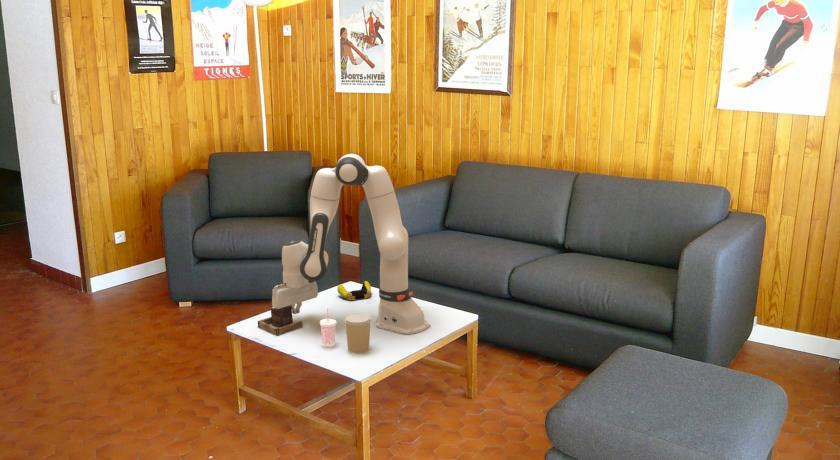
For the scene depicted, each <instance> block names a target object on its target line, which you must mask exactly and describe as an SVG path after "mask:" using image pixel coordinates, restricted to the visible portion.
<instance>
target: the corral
mask: <svg viewBox="0 0 840 460" xmlns="http://www.w3.org/2000/svg"><path fill="white" fill-rule="evenodd" d="M257 328H259V329H261V330H264V331H265V332H269V334H272V335H274V336H281V335H284V334H286V333H290V332H294V331H296V330H300V329H301V328H303V321H302V320H299V321H296V322H293V323H292V324H290V325H287V326H283V327H278V328H277V326H274V325H272V318H271V316H270V317H267V318H263V319H260V320H257Z"/></svg>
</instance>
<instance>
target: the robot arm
mask: <svg viewBox="0 0 840 460" xmlns="http://www.w3.org/2000/svg"><path fill="white" fill-rule="evenodd" d="M344 185H345V186H359V187H360V186H362V188H363V190H364V193H365V197H366V201H367V204H368V207H369V211H370V214H371V218H372V223H373V229H374V233H375V239H376V241H377V246H378V250H379V253H380V257H379V258H380V259H379V260H380V261H379V263H380V264H379V288H378V290H379V292H378V296H379V304H378V313H377V318H376V326H375V327H376V328H378V329H383V330H385V331H386V330H387V331H391V332H394V333H397V334H401V335H405V336H407V335H414V334H419V333H420V332H424V331H426V330H428V329H429V328H430V327H431V323H430V321H427V320H425V315H424V314H425V313H424V310H422V308H421V306H419V305H418V304H417V303H416V302H415V300H414V299H413V298H412V296H413V295H414V294H413V293H414V291H410V290H411V289H410V288H409V233H408V230H407V229H406V228H405V226H404V225H403V221H402V216H401V209H400V205H399V203H398V198H397V196H396V191H395V188H394V185H393V182H392V180H391V177H390V175H389V173H388V171H387V168H385V167H384V166H382V165H367V163H366V159H365V158H364V157H363V156H362V155H361V154H359V153H357V152H348V153H345V154H344V155H342V156H341V157H340V158H339V159H338V161H337V163H336V164H335V165H334V167H333V168H331V167H324V168H321V169H319V170H318V171H317V172H316V174H315V176H314V179H313V182H312V185H311V186H312V187H311V193H310V198H309V199H310V201H309V215H310V216H309V217H310V219H309V220H310V232H309V239H308V244H307V243H305V242H304V241H303V240H301V239H292V240H289V241H286V242H285V243H284V244H283V246H282V248H281V249H282V250H281V264H282V269H283V270H282V283H281V284H276V285H275V286H274V287H273V288H272V291H271V292H272V293H271V294H272V296H271V305H272V307H274V308H276V309H280V308H284V307H287V306H292V315H297V314H300V313H301V311H300V309H301V307H302V305H303V303H304V302H306V301H309V300H314V299H316V298H317V297H318V294H319V289H318V284H317V281H321V280H322V279H323V278H324V277H325V276H326V274H327V269H328V264H329V260H330V259H329V258H330V257H329V254H328V252H327V251H326V250H325V249H326V242H327V235H328V232H329V229H330V227H331V224H332V223H333V220H334V219H335V216H336V213H337V210H338V208H339V202H340V197H341V190H342V187H344Z"/></svg>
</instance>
